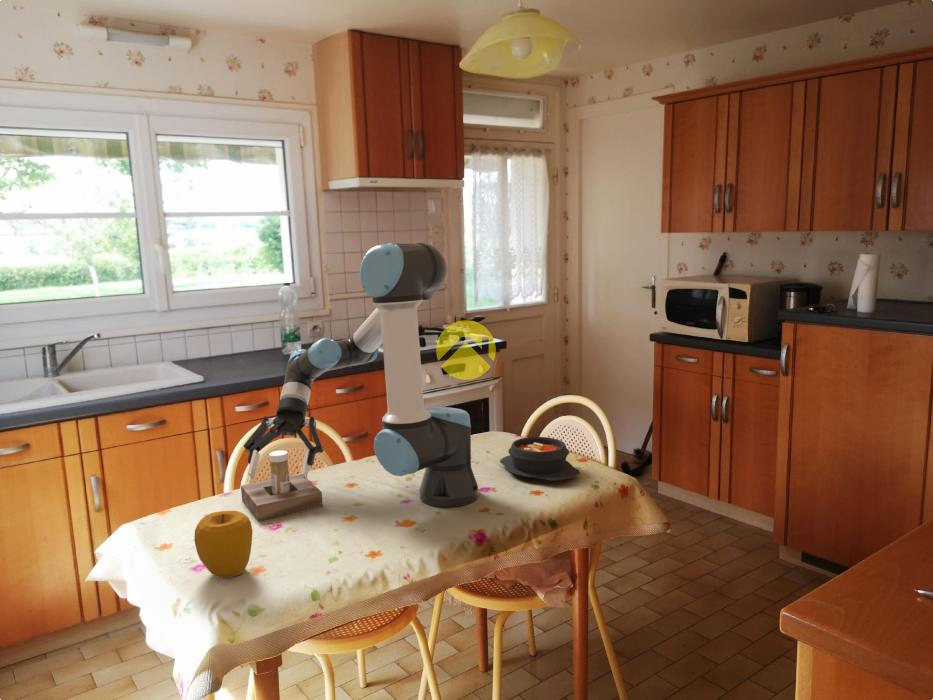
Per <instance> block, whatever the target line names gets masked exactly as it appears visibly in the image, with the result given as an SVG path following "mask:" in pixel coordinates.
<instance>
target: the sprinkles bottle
mask: <svg viewBox="0 0 933 700" xmlns="http://www.w3.org/2000/svg"><path fill="white" fill-rule="evenodd" d="M268 458H269V463H270V480H271V482H272V493H273V495H277V494H282V493H287V492H290V484H289V476H290V474H289V463H288V462H289V452H288V451H286V450H274V451H272V452H270V453H269V457H268Z"/></svg>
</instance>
